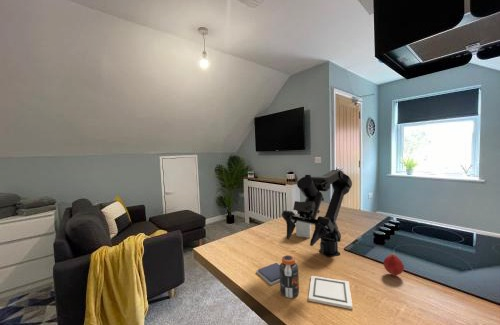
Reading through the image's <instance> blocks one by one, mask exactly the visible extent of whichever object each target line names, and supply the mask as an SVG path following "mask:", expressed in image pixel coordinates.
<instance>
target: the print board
mask: <svg viewBox="0 0 500 325" xmlns="http://www.w3.org/2000/svg"><path fill="white" fill-rule="evenodd" d="M310 278H311V279H310V283H309V290H308V299H307V300H308V302H309V301H310V302H314V303H318V304H324V305H329V306H333V307H334V306H335V307H339V308H345V309H349V310H353V307H354V306H353V301H352V295H351V288H350V287H351V286H350V281H348V280H342V279H335V278H327V277H321V276H315V275H311V277H310Z"/></svg>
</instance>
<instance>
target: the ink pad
mask: <svg viewBox="0 0 500 325" xmlns="http://www.w3.org/2000/svg"><path fill="white" fill-rule="evenodd" d="M256 274H257V275H259V276H260V277H261V278H262V279H263V280H264V281H265V282H266V283H267V284H269V285H270V286H273V285H275V284H278V283H280V264H279V263H278V262H275V263H272V264H270V265H267V266H264V267H260V268H259V269H257V270H256Z"/></svg>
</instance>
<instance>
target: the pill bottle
mask: <svg viewBox="0 0 500 325" xmlns="http://www.w3.org/2000/svg"><path fill="white" fill-rule="evenodd" d="M279 265H280V282H279V288H280V289H279V291H280V294H281V295H282V296H283V297H285V298H288V299H292V298H296V297H298V295H299V293H300V287H299V286H300V284H299V283H300V282H299V279H300V278H299V266H298V264H297V263H296V260H295V257H294V256H293V255H283V256H282V258H281V262H280V264H279Z"/></svg>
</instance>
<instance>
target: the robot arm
mask: <svg viewBox="0 0 500 325" xmlns="http://www.w3.org/2000/svg"><path fill="white" fill-rule="evenodd" d="M331 186H332V187H331ZM352 186H353V181H352V178H350V176H349V175H347V174H346V173H344V171H343V170H341V169H331V170H330V171H329V172H327V173H325V174H322V175H319V176H316V175H315V176H312V175H311V174H305V176H302V177H301V178H300V179H299V180H297V183H296V187H297V188H298V190H299V191H300V192H301V194H302V195H303V196H304V197H305V200H304V201H297V200H294V203H293V209H292V210H293V211H291V210H283V211H282V213H281V217H282V219H283V220H284V221H285V223H286V239H287V240H289V239H290V238H291V237H292V235H293V232H294V230H295V229H296V222H297V221H300V222H305V223H309V224H311V225H314V231H313V234H312V236H311V239H310V242H309V245H310V247H313V246H314V245H315V244H316V243H317V242H318V241H319V240H320V242H319V244H320V245H319V246H320V247H319V249H318V250H319V252H320V253H321V254H323V255H324V256H326V257H329V258H330V257H333V256H340V255H341V252H339V249H338V243H341V239H342V234H341V231H339V227H338V224H337V220H338V216H339V213H340V209H341V205H342V202H343V200H344V196H346V194H348V193H349V192H350V189H352ZM330 188H332V189H333V192H332V195H331V198H330V201H329V204H328V206H327V210H326V213H325V215H324V216H321V215H319V216H318V214H320V212H321V211H320V207H321V203H322V202H323V201H325V199H324V195H323V193H322V192H324V193H325V192H328V191H329V189H330ZM294 211H296V212H297V213H298V214H299V215H300V216H296V213H294ZM317 216H318V217H317ZM316 218H317V219H316Z"/></svg>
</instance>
